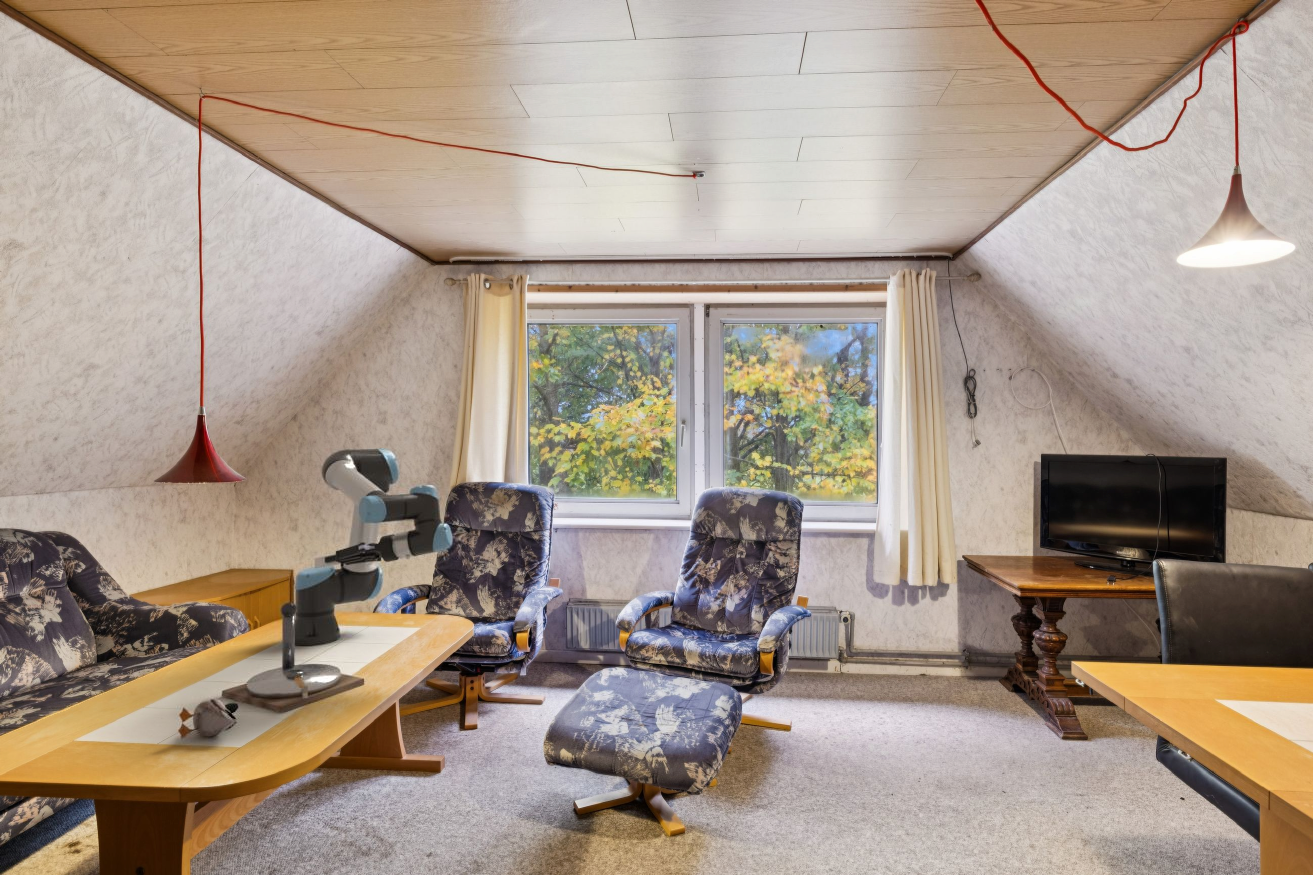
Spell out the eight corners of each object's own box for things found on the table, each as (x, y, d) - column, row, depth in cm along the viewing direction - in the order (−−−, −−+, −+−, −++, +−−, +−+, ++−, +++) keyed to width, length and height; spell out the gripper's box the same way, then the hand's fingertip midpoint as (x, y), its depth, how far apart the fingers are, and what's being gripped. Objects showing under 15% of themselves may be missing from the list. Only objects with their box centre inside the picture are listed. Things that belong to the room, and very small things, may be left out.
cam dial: (349, 686, 192) (349, 611, 192) (253, 704, 179) (253, 623, 179) (329, 664, 210) (330, 596, 211) (241, 678, 198) (241, 606, 198)
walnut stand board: (222, 696, 190) (222, 678, 190) (306, 670, 211) (306, 654, 211) (281, 712, 178) (281, 694, 178) (364, 684, 199) (364, 667, 199)
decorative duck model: (225, 688, 177) (276, 692, 172) (223, 721, 176) (274, 726, 172) (167, 703, 162) (221, 708, 158) (165, 739, 162) (219, 745, 157)
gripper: (389, 553, 206) (304, 571, 205) (406, 564, 218) (326, 581, 217) (387, 528, 209) (304, 545, 208) (404, 540, 221) (325, 556, 220)
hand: (315, 563), depth 213 cm, fingers closed
